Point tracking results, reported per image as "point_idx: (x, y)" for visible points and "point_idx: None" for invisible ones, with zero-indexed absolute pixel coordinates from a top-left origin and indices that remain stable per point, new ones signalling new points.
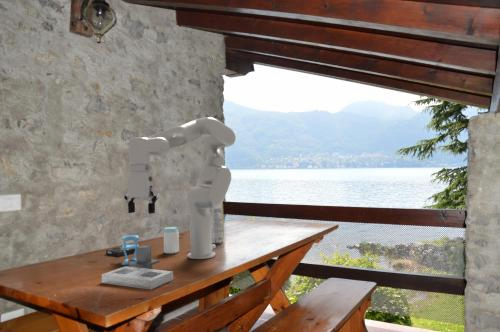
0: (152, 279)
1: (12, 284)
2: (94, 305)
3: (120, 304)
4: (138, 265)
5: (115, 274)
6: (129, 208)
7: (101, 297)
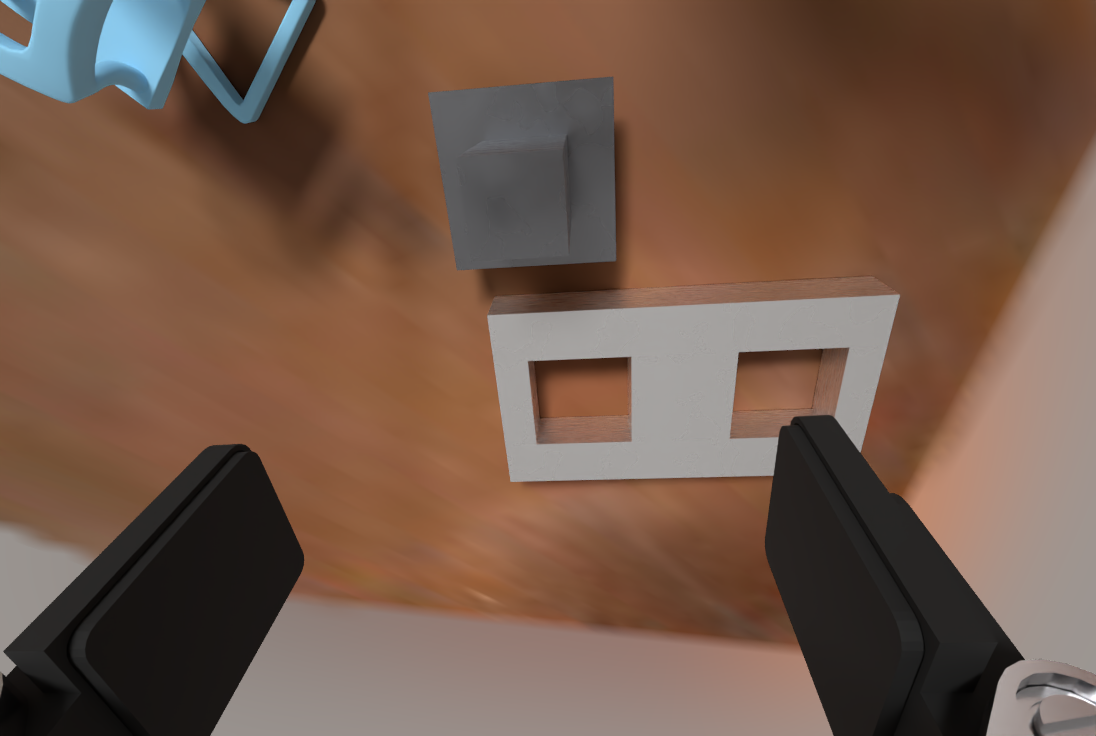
0: None
1: None
2: (718, 616)
3: None
4: (550, 262)
5: (582, 460)
6: (251, 641)
7: (679, 566)
